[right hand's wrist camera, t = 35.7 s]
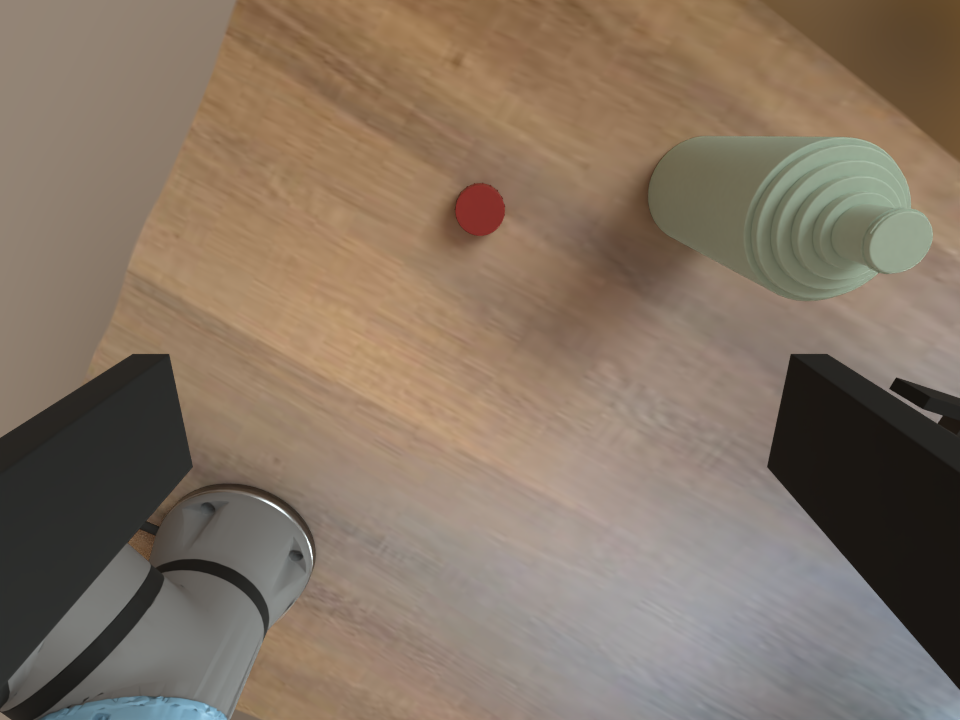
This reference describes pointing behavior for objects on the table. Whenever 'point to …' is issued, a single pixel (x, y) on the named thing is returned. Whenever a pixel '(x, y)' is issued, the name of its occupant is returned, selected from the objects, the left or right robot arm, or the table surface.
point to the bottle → (791, 210)
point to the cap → (480, 209)
